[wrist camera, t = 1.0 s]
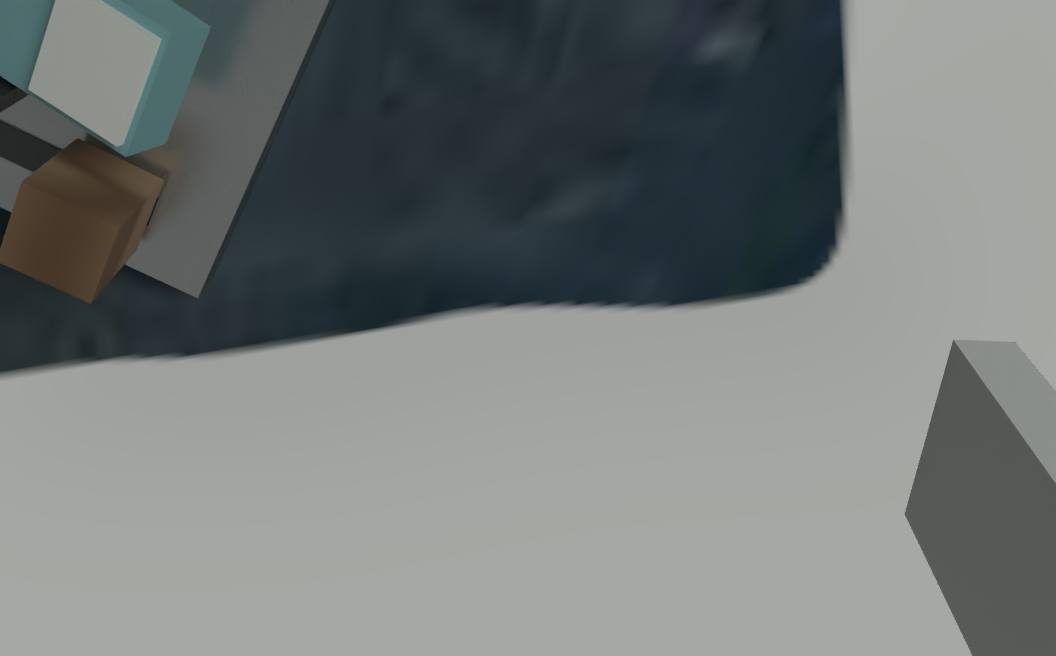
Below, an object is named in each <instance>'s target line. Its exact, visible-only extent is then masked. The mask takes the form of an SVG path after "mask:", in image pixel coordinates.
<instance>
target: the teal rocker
mask: <svg viewBox="0 0 1056 656" xmlns="http://www.w3.org/2000/svg"><path fill="white" fill-rule="evenodd" d="M210 28H211V26H209V25H208V24H206V23H205V22H203V21H201V20H200V19H198V18H197V17H195V16H194V15H192V14H191V13H189V12H188V11H186V10H184V9H183V8H181V7H180V6H178V5H177V4H175V3H174V2H172V1H170V0H0V76H1V77H3V78H4V79H6V80H7V81H9V82H10V83H12V84H13V85H15V86H17V87H18V88H20V89H21V90H23V91H24V92H26V93H27V94H29V95H30V96H32V97H34V98H35V99H37V100H38V101H40V102H41V103H43V104H44V105H46V106H47V107H49V108H51V109H52V110H54V111H55V112H57V113H58V114H60V115H61V116H63V117H64V118H66V119H68V120H69V121H71V122H72V123H74V124H75V125H77V126H78V127H80V128H81V129H83V130H85V131H86V132H88V133H89V134H91V135H92V136H94V137H95V138H97V139H98V140H100V141H102V142H103V143H105V144H106V145H108V146H109V147H111V148H112V149H114V150H115V151H117V152H119V153H120V154H122V155H123V156H125V157H128V156H131V155H134V154H137V153H140V152H143V151H145V150H148V149H151V148H154V147H157V146H160V145H163V144H166V142H167V139H168V136H169V134H170V131H171V129H172V126H173V124H174V121H175V118H176V116H177V113H178V111H179V108H180V106H181V103H182V100H183V98H184V95H185V93H186V90H187V88H188V85H189V82H190V80H191V77H192V75H193V72H194V70H195V67H196V64H197V62H198V59H199V57H200V54H201V52H202V49H203V46H204V44H205V41H206V39H207V36H208V33H209V31H210Z"/></svg>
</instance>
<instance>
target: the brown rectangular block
mask: <svg viewBox="0 0 1056 656" xmlns="http://www.w3.org/2000/svg"><path fill="white" fill-rule="evenodd" d="M163 182H164V180H163V179H161V178H159V177H157V176H155V175H153V174H151V173H149V172H147V171H145V170H143V169H141V168H139V167H136V166H134V165H132V164H130V163H128V162H126V161H124V160H122V159H120V158H118V157H116V156H114V155H112V154H110V153H108V152H106V151H103V150H101V149H99V148H97V147H95V146H93V145H91V144H89V143H87V142H85V141H83V140H81V139H79V138H77V139H75V140H74V141H73V142H72V143H70V144H69V145H68V146H67V147H65V148H64V149H63V150H61V151H60V152H59V153H58V154H56V155H55V156H54V157H52V158H51V159H50V160H49V161H47V162H46V163H45V164H43V165H42V166H41V167H40V168H38V169H37V170H36V171H34V172H33V173H32V174H31V175H29V176H28V177H27V178H25V179H24V180H23V181H22V182H21V185H20V188H19V191H18V194H17V197H16V201H15V204H14V207H13V210H12V213H11V216H10V219H9V223H8V226H7V229H6V232H5V235H4V238H3V241H2V244H1V248H0V263H1V264H3V265H5V266H7V267H10V268H12V269H14V270H16V271H19V272H21V273H23V274H25V275H28V276H30V277H32V278H34V279H36V280H39V281H41V282H43V283H45V284H48V285H50V286H52V287H54V288H57V289H59V290H61V291H63V292H65V293H68V294H70V295H72V296H74V297H77V298H79V299H81V300H83V301H86V302H88V303H90V304H91V303H92V302H93V300H94V299H95V298H96V297H97V296H98V295H99V293H100V292H101V291H102V290H103V289H104V288H105V286H106V285H107V284H108V283H109V282H110V281H111V279H112V278H113V277H114V276H115V275H116V274H117V272H118V271H119V270H120V269H121V268H122V267H123V265H124V264H125V263H126V262H127V261H128V260H129V258H130V257H131V256H132V255H133V254H134V253H135V251H136V250H137V248H138V245H139V243H140V240H141V238H142V235H143V232H144V230H145V227H146V225H147V222H148V220H149V217H150V215H151V212H152V210H153V207H154V205H155V202H156V200H157V197H158V195H159V192H160V189H161V187H162V184H163Z"/></svg>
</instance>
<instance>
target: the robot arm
mask: <svg viewBox="0 0 1056 656" xmlns="http://www.w3.org/2000/svg"><path fill="white" fill-rule="evenodd" d="M905 516H906V518H907V520H908V522H909V524H910V526H911V528H912V530H913V532H914V534H915V537H916V539H917V540H918V543H919V545H920V547H921V549H922V551H923V553H924V555H925V557H926V559H927V561H928V564H929V566H930V567H931V570H932V572H933V574H934V576H935V578H936V580H937V582H938V584H939V587H940V589H941V591H942V593H943V595H944V597H945V599H946V601H947V603H948V605H949V607H950V609H951V612H952V614H953V616H954V618H955V620H956V622H957V624H958V626H959V628H960V631H961V633H962V635H963V637H964V639H965V641H966V643H967V645H968V647H969V649H970V651H971V654H972V656H1056V391H1055V390H1054V389H1053V388H1052V386H1051V385H1050V384H1049V383H1048V382H1047V380H1046V379H1045V378H1044V377H1043V375H1042V374H1041V373H1040V372H1039V370H1038V369H1037V368H1036V367H1035V366H1034V364H1033V363H1032V362H1031V361H1030V360H1029V359H1028V357H1027V356H1026V355H1025V353H1024V352H1023V351H1022V350H1021V349H1020V347H1019V346H1018V345H1017V344H1016V342H997V341H973V340H971V341H970V340H953V343H952V346H951V350H950V354H949V357H948V361H947V365H946V368H945V372H944V375H943V379H942V382H941V386H940V389H939V393H938V397H937V400H936V404H935V407H934V411H933V414H932V418H931V422H930V425H929V429H928V433H927V436H926V440H925V443H924V447H923V450H922V454H921V458H920V461H919V465H918V469H917V472H916V475H915V479H914V483H913V486H912V490H911V493H910V497H909V501H908V504H907V508H906V512H905Z"/></svg>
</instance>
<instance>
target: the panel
mask: <svg viewBox="0 0 1056 656" xmlns="http://www.w3.org/2000/svg"><path fill="white" fill-rule="evenodd" d="M170 1H172V2H174V3H175V4H177V5H178V6H180V7H181V8H183V9H184V10H186V11H188V12H189V13H191V14H192V15H194V16H195V17H197V18H198V19H200V20H201V21H203V22H205V23H206V24H208V25H209V26H211V28H210V31H209V33H208V36H207V39H206V41H205V44H204V46H203V49H202V52H201V54H200V57H199V59H198V62H197V64H196V67H195V70H194V72H193V75H192V77H191V80H190V82H189V85H188V88H187V90H186V93H185V95H184V98H183V100H182V103H181V106H180V108H179V111H178V113H177V116H176V118H175V121H174V124H173V126H172V129H171V131H170V134H169V136H168V139H167V142H166V144H163V145H160V146H157V147H154V148H151V149H148V150H145V151H143V152H140V153H137V154H134V155H131V156H128V157H125V156H123V155H122V154H120V153H119V152H117V151H115V150H114V149H112V148H111V147H109V146H108V145H106V144H105V143H103V142H102V141H100V140H98V139H97V138H95V137H94V136H92V135H91V134H89V133H88V132H86V131H85V130H83V129H81V128H80V127H78V126H77V125H75V124H74V123H72V122H71V121H69V120H68V119H66V118H64V117H63V116H61V115H60V114H58V113H57V112H55V111H54V110H52V109H51V108H49V107H47V106H46V105H44V104H43V103H41V102H40V101H38V100H37V99H35V98H34V97H32V96H30V95H29V94H27V93H26V92H24V91H23V90H21V89H20V88H18V87H17V86H15V85H13V84H12V83H10V82H9V81H7V80H6V79H4V78H3V77H1V76H0V207H1V208H3V209H5V210H8V211H10V212H12V210H13V207H14V204H15V201H16V197H17V194H18V191H19V188H20V185H21V182H22V181H23V180H24V179H25V178H27V177H28V176H29V175H31V174H32V173H33V172H34V171H36V170H37V169H38V168H40V167H41V166H42V165H43V164H45V163H46V162H47V161H49V160H50V159H51V158H52V157H54V156H55V155H56V154H58V153H59V152H60V151H61V150H63V149H64V148H65V147H67V146H68V145H69V144H70V143H72V142H73V141H74V140H75V139H77V138H79V139H81V140H83V141H85V142H87V143H89V144H91V145H93V146H95V147H97V148H99V149H101V150H103V151H106V152H108V153H110V154H112V155H114V156H116V157H118V158H120V159H122V160H124V161H126V162H128V163H130V164H132V165H134V166H136V167H139V168H141V169H143V170H145V171H147V172H149V173H151V174H153V175H155V176H157V177H159V178H161V179H163V180H164V182H163V184H162V187H161V189H160V192H159V195H158V197H157V200H156V202H155V205H154V207H153V210H152V212H151V215H150V217H149V220H148V222H147V225H146V227H145V230H144V232H143V235H142V238H141V240H140V243H139V245H138V248H137V250H136V251H135V253H134V254H133V255H132V256H131V257H130V258H129V260H128V261H127V262H126V263H125V265H127V266H129V267H131V268H133V269H136V270H138V271H140V272H142V273H144V274H146V275H149V276H151V277H153V278H155V279H157V280H159V281H162V282H164V283H166V284H168V285H170V286H172V287H175V288H177V289H179V290H181V291H183V292H185V293H188V294H190V295H192V296H194V297H196V298H198V297H199V296H200V294H201V293H202V291H203V290H204V288H205V287H206V285H207V284H208V282H209V281H210V279H211V278H212V276H213V275H214V273H215V271H216V268H217V266H218V264H219V262H220V259H221V257H222V255H223V252H224V250H225V248H226V246H227V243H228V241H229V239H230V237H231V234H232V232H233V230H234V228H235V225H236V223H237V221H238V219H239V216H240V214H241V212H242V210H243V207H244V205H245V203H246V201H247V198H248V196H249V194H250V192H251V189H252V187H253V185H254V183H255V180H256V178H257V176H258V174H259V171H260V169H261V167H262V165H263V162H264V160H265V158H266V156H267V153H268V151H269V149H270V147H271V144H272V142H273V140H274V138H275V135H276V133H277V131H278V129H279V126H280V124H281V122H282V120H283V117H284V115H285V113H286V111H287V108H288V106H289V104H290V102H291V99H292V97H293V95H294V93H295V90H296V88H297V86H298V84H299V81H300V79H301V77H302V75H303V72H304V70H305V68H306V66H307V63H308V61H309V59H310V57H311V54H312V52H313V50H314V48H315V45H316V43H317V41H318V39H319V36H320V34H321V32H322V30H323V27H324V25H325V23H326V21H327V18H328V16H329V14H330V11H331V9H332V7H333V5H334V2H335V0H170Z"/></svg>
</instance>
